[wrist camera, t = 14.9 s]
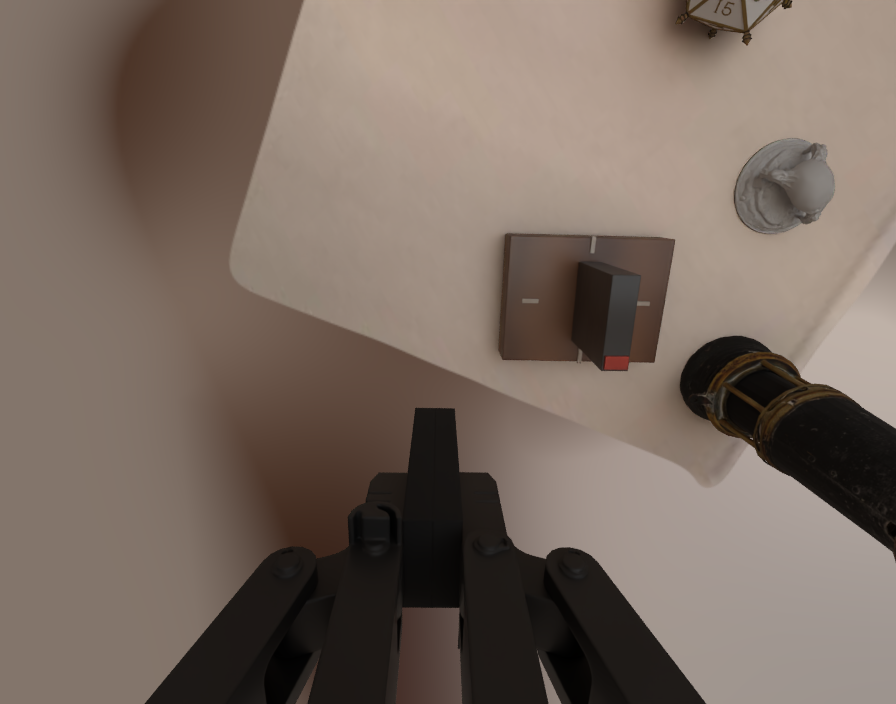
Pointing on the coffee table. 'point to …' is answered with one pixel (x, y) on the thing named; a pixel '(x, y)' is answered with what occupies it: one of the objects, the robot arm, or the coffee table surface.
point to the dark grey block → (605, 314)
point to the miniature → (784, 186)
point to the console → (554, 290)
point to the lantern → (799, 429)
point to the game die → (731, 14)
